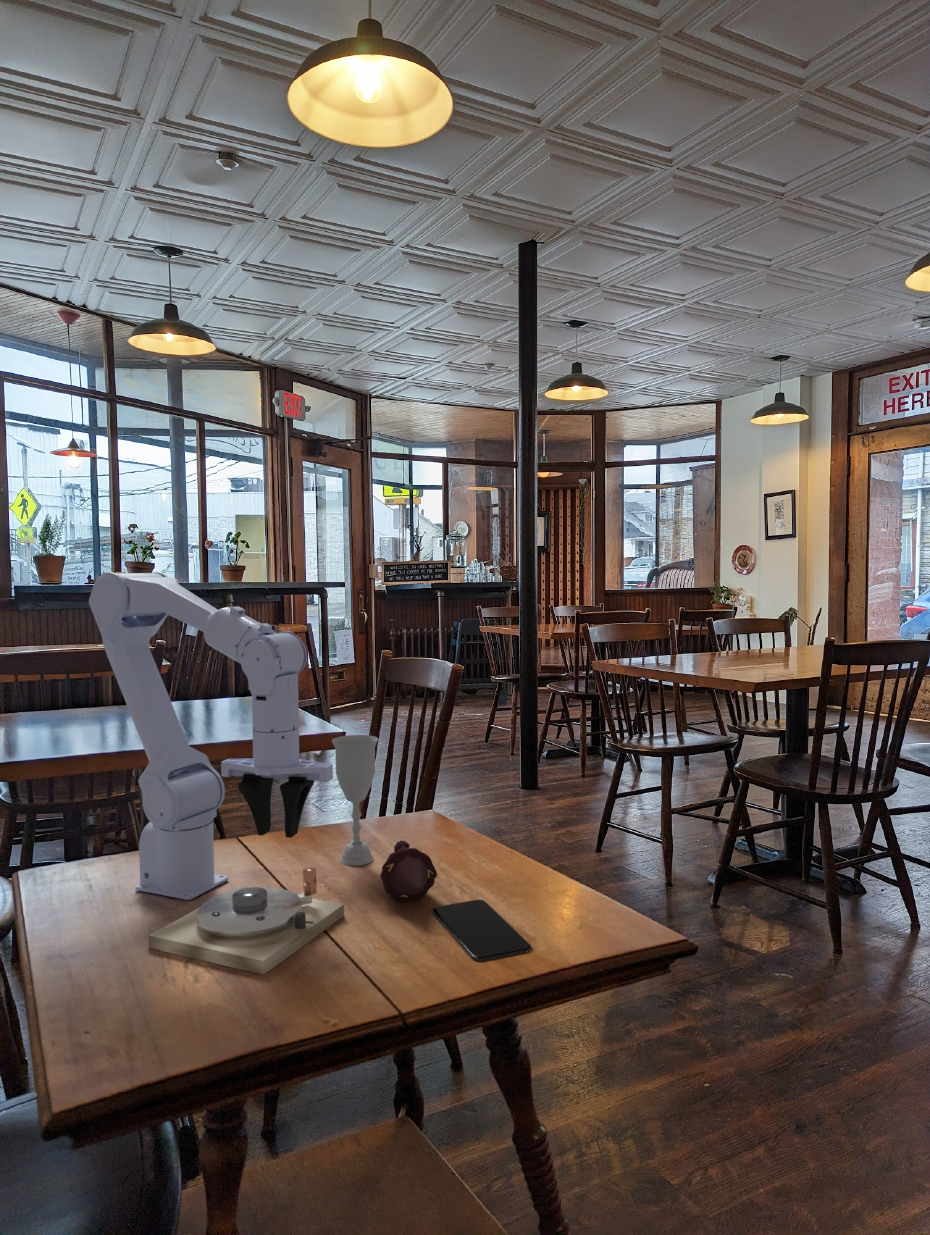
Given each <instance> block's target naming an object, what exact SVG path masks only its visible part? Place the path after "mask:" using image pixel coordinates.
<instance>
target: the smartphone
mask: <svg viewBox="0 0 930 1235" xmlns="http://www.w3.org/2000/svg"><path fill="white" fill-rule="evenodd" d="M431 913H432V915H433V916H434V917H435V918H436V920H437V921H438V922H439V923H440V925H442V927H443V928H444V929H445V930H446V931H447V932H448V933H449V935H450V936H451V937H452V938H453V939H454V941H455V942H456V943H457V944H458V945H459V946H460V948H461V949H462V950H463V951H464V952H465V953H466V955H467V956H468V957H469V958H470V959H471V960H472V961H474V962H478V963H482V962H488V961H492V960H497V959H498V960H499V959H503V958H504V957H506V956H507V957H513V956H512V955H514V956H518V955H517V954H519V955H521V954H520V953H523V954H526V953H525V952H527V951H530V950H532V951H533V946H532V944H531V943H529V942H528V941H527V940H526V939H525V938H524V937H523V936H522V935H521V934H520V933H519V932H518V931H517V930H516V928H514V927H513V926H512V925H511V924H510V923H509V922H507V921H506V920H505V918H503V917H502V916H501V915H500V913H498V912H497V911H496V910H495V909H494V908H493V907H492V906H491V905H490V904H489V903H488V902H487V901H486V900H484V899H473V900H467V901H462V902H461V901H460V902H456V903H449V904H445V905H444V904H443V905H438V906H435V907H433V908H432V911H431Z"/></svg>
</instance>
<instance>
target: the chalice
mask: <svg viewBox="0 0 930 1235" xmlns="http://www.w3.org/2000/svg"><path fill="white" fill-rule="evenodd" d="M378 741H379V738H378V737H376V736H374V735H366V734H351V735H350V734H349V735H342V736H338V737H334V738H332V740H331V743H332V744H333V747H334V748H335V749H334V750H335V775H336V778H337V781H338V784H339V787H340V789H341V791H342V793H343V795H344V796H345V799H346V801H348V802H350V803H352V812H351V813H350V816H351V818H352V821H353V822H352V824H351V826H350V829H351V830H352V833H353V836H352V839H351V842H348V843H346V844H345V846H344V847H343V851H342V852H341V853H342V854H341V856H340V859H339V862H340V863H341V864H343V865H345V866H353V867H354V866H363V865H368V864H370V863H371V862H373V861H374V860H375V859H374V858H375V857H374V856H373V854H372V850H371V849H370V845H368V843H367V842H365V841H362V839H361V837H360V833H361V830H362V828H363V826H362V825H361V824H360V819H361V816H362V813H361V809H360V803H361V802H363V801H365V799H366V797H367V795H368V793H369V791H370V788H371V786H372V783H373V781H374V778H375V774H376V745H377V742H378Z"/></svg>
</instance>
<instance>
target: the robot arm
mask: <svg viewBox="0 0 930 1235" xmlns="http://www.w3.org/2000/svg"><path fill="white" fill-rule="evenodd" d="M90 592H91V593H90V595H89V600H88V604H89V607H90V610H91V612H92V615H93V617H94V619H95V622H96V624H97V627H98V631H99V632H100V635H101V637H102V638H101V639H102V645H103V649H104V651H105V654H106V657H107V659H108V661H109V663H110V666H111V669H112V671H113V674H114V676H115V679H116V681H117V684H118V687H119V689H120V692H121V694H122V696H123V698H124V702H125V704H126V707H127V709H128V712H129V715H130V716H131V719H132V721H133V724H134V727H135V730H136V732H137V734H138V738H139V739H140V742H141V745H142V747H143V749H144V752H145V755H146V757H147V760H148V761H149V762H148V764H147V766H146V767H145V768H144V771H143V772H142V773H141V775H140V776H139V778H138V780H137V781H138V785H139V787H140V790H141V795H142V796H141V797H142V808H143V813H144V814H145V816H146V818H147V820H148V821H149V822H148V823H147V824H146V825H145V826H144V828H143V829H142V832H141V834H140V837H139V842H138V851H139V852H138V856H139V857H138V858H139V859H138V860H139V881H140V882H139V884H137V885H136V886H135V891H140V892H144V893H151V894H155V895H160V896H165V897H170V898H176V899H181V900H184V901H185V900H186V901H190V900H193V899H195V898H197V897H198V896H200V895H203V894H204V893H206V892H207V891H209V890H213V889H214V888H215V887H218V886H219V885H222V884H223V883H225V882H227V881H229V876H228V875H223V874H219V873H218V874H216V873H215V852H214V851H215V848H214V846H215V845H214V818H216V817H217V816H218V815H217V809H219V808H220V807H221V805H223V802H224V799H225V796H226V789H225V788H226V787H225V783H224V781H223V778H222V777H225V778H229V777H231V776H233V777H242V779H241V781H240V782H239V783H238V784H237V786H238V790H239V792H240V793H241V795H242V796H243V797H244V799H245V801H246V803H247V806H248V807H249V809H250V813H251V814H252V819H253V821H254V824H255V828H256V832H257V835H258V836H265V835H266V834H267V833H269V832H271V825H272V818H271V816H272V815H271V814H272V813H271V801H272V797H271V796H272V790H273V784H274V783H273V781H274V779H287V780H288V781H285V782H283V783H282V784H280V785H279V790H280V793H281V799H282V803H283V809H284V833H285V834H284V835H285V837H286V838H293V837H294V836H296V835H297V834H298V833H299V828H300V827H299V826H300V822H301V818H302V813H303V810H304V806H305V803H306V801H307V799H308V796H309V794H310V792H311V790H312V788H313V786H314V784H315V781H318V782H320V783H328V782H330V781H331V780H332V779H334V773H333V772H334V771H333V770H334V767H333V763H327V762H325V763H324V762H320V761H319V762H317V761H312V760H307V759H300V728H299V727H300V723H299V722H300V720H299V718H300V717H299V716H300V714H299V674H300V673H301V672H302V671H304V670H303V669H304V668H305V667H306V664H307V658H308V652H307V648H306V645H305V643H304V641H303V640H302V639H301V638H300V637H299V636H298V635H296V634H295V632H294V631H290V630H289V631H288V630H287V631H280V632H276V631H274V629H273V626H272V625H270V624H269V623H267V622H265V623H261V622H259V621H257V620H255V619H254V618H252V617H250V616H247V615H246V614H245V613H246V609H245V608H243V607H240V606H226V607H223V608H220V609H217V608H216V607H215V606H214V605H213V606H212V605H211V604H210V603H208V602H206V601H205V600H203V599H202V598H201V597H199V596H197V595H196V594H194V593H193V592H191V590H188V589H186V588H185V587H183V586H182V585H180V584H179V581H178V579H177V578H174V577H171V576H168V575H167V574H166V573H164V572H161V571H155V572H148V573H147V572H139V573H138V572H137V573H136V572H132V573H131V572H129V573H128V572H126V573H122V572H119V573H116V572H113V571H112V572H111V571H109V572H108V571H107V572H104V573H102V574H100V575H99V576H98V577H97V578H96V579H95V581H94V583H93V586H92V589H91V591H90ZM168 616H170V617H171V618H174V619H176V620H178V621H180V622H182V623H185V624H186V625H188V626H190V627H193V628H194V629H196V630H198V631H201V632H203V635H204V637H203V638H204V640H205V643H206V644H207V645H208V646H210V647H211V648H213V649H214V650H216V651H218V652H219V653H221V654H223V655H224V656H227V657H228V658H230V659H232V660H233V661H234V662H236V663H238V664H240V665H241V670H242V672H243V673H244V675H245V677H247V683H248V690H249V691H250V694H251V712H252V714H251V716H252V719H251V720H252V721H251V722H252V723H251V724H252V758H227V759H225V760H222V761H221V762H220V766H221V768H220V770H221V771H220V774H221V775H220V774H219V772H218V771H217V770H216V769H215V768H214V767H213V766H212V763H211V762H210V759H209V757H208V756H207V755H206V754H205V753H203V752H201V751H199V750H197V749H195V748H194V747H192V746H190V745H189V742H188V740H187V738H186V735H185V733H184V730H183V727H182V725H181V723H180V720H179V718H178V716H177V714H176V711H175V708H174V707H173V704H172V701H171V698H170V696H169V692H168V691H167V687H166V686H165V684H164V681H163V678H162V677H161V676H162V675H161V674H160V671H159V668H158V667H157V663H156V662H155V659H154V657H153V653H152V651H151V649H150V647H149V643H150V641H151V638H152V637H153V636H155V635H156V634H157V632H158V631H159V629H160V628H161V627H162V625H163V623H164V622H165V621H166V618H168Z"/></svg>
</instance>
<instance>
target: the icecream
mask: <svg viewBox="0 0 930 1235" xmlns="http://www.w3.org/2000/svg"><path fill="white" fill-rule="evenodd" d="M410 846H411V845H410V844H409V842H407V841H406V840H400V841H397V842H396V843H395V845H394V847H393V850H394V851H393V852H392V853H390V854H389V856H388V857H387V859H386V861H385V862H384V864H383V865H382V867H381V873H380V879H381V880H382V885H383V887H384V891H385V893H386V895H388V896H390V897H392V898H394V899H396V900H398V901H399V902H402V903H406V902H411V901H417V900H422V899H423V898H424V897H425V896H426V895H427V893H428V891H429V890H430V889H431V888H432V887H433V886H434V885H435V882H436V881H435V880H436V877H438V872H437V870H436V868H435V865H434V863H433V860H432V859H431V857H430V856H429V855H428V854H427V853H424V852H422V850H421V851H420V850H419V849H418V848H415V847H410Z"/></svg>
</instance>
